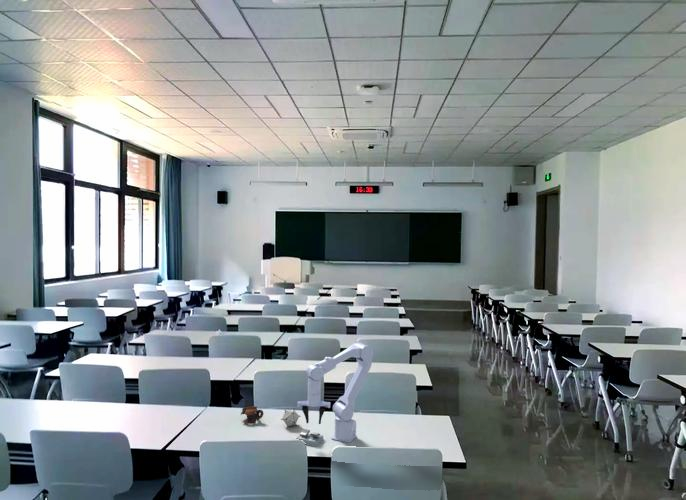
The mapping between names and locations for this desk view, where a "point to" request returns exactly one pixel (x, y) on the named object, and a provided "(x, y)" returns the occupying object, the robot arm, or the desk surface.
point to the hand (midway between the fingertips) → (313, 422)
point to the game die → (290, 417)
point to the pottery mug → (251, 414)
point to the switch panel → (311, 439)
